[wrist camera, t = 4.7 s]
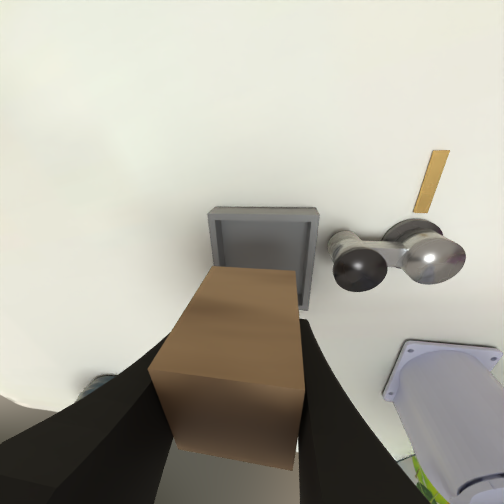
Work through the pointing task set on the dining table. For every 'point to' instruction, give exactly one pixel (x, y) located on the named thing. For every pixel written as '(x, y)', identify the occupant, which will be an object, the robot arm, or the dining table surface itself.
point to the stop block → (236, 368)
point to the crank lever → (394, 258)
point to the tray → (267, 241)
